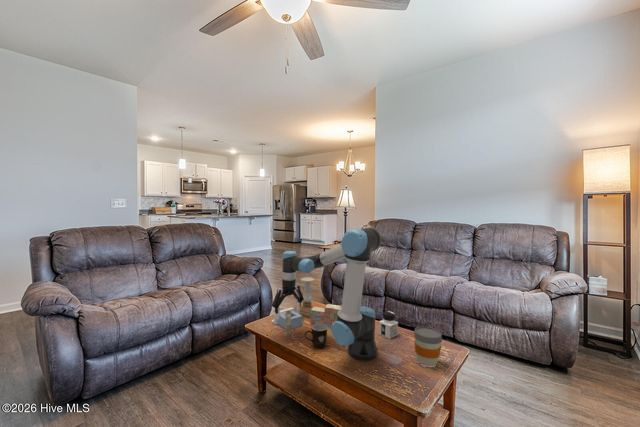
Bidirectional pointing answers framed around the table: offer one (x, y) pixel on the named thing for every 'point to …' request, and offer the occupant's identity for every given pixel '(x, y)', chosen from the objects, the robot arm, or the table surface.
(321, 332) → the coffee mug
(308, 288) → the candle holder
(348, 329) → the robot arm
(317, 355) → the table surface
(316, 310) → the stack of blocks
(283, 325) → the block
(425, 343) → the reusable coffee cup
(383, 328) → the container
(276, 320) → the wall
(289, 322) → the dowel
